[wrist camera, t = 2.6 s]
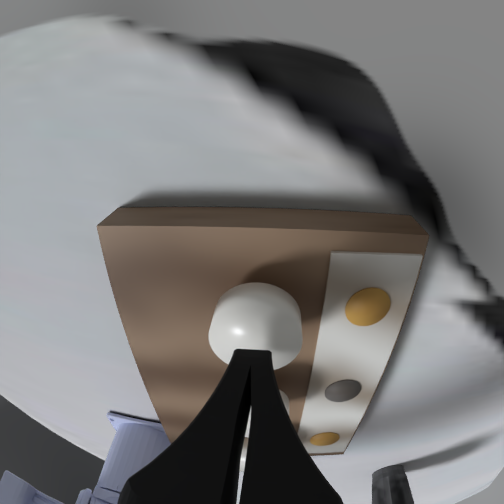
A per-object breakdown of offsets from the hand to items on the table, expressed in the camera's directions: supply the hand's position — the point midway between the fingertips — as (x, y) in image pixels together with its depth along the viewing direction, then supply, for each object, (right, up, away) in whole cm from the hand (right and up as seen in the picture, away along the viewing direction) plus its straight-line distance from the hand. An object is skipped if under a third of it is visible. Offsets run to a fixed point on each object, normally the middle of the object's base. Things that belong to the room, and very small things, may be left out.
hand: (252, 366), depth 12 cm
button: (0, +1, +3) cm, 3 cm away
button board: (+1, -3, +9) cm, 10 cm away
